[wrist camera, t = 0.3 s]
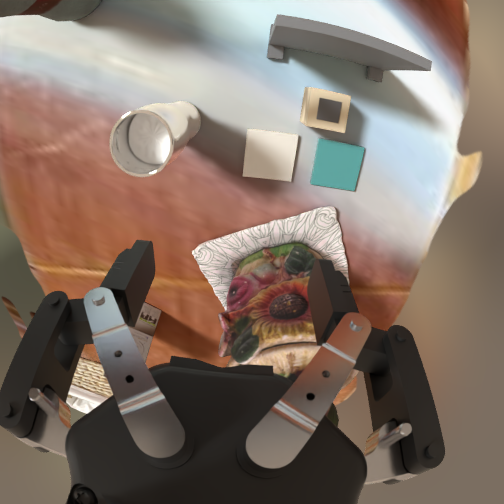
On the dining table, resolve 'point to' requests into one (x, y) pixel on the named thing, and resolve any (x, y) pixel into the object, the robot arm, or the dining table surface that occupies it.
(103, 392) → the storage basket
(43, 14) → the bottle
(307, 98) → the beige cube
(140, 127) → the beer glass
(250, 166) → the pad
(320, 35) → the screen
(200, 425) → the robot arm
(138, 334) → the coffee box
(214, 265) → the cookie jar
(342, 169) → the pad
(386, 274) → the dining table surface
